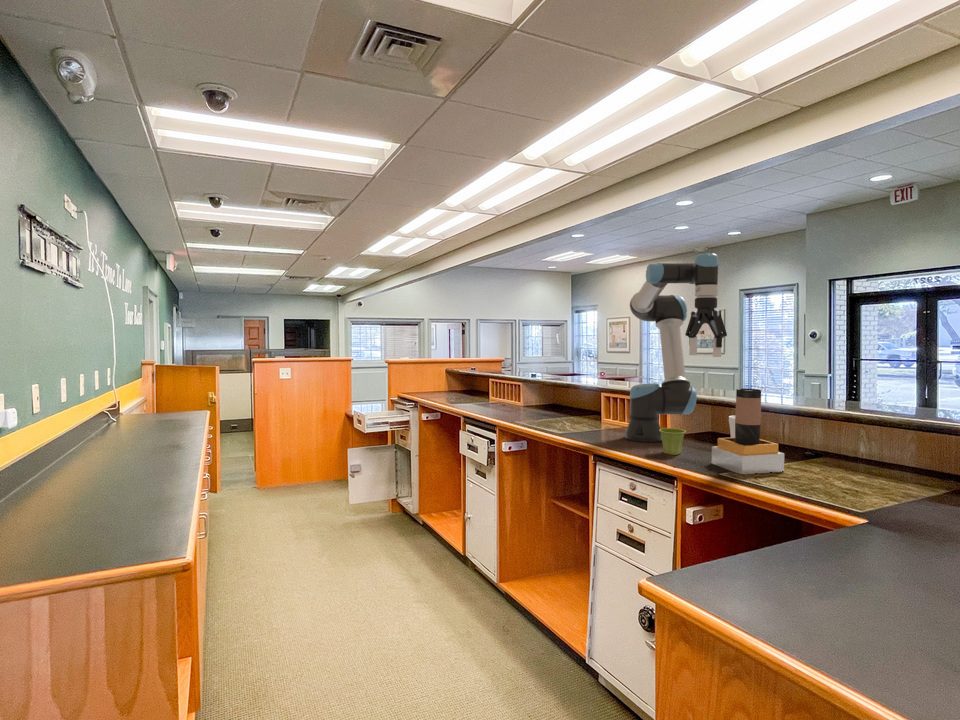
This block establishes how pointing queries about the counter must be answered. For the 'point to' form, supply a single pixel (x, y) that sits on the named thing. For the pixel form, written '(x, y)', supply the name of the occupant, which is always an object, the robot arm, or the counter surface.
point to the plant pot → (672, 440)
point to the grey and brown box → (747, 456)
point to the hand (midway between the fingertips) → (704, 356)
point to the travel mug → (748, 416)
